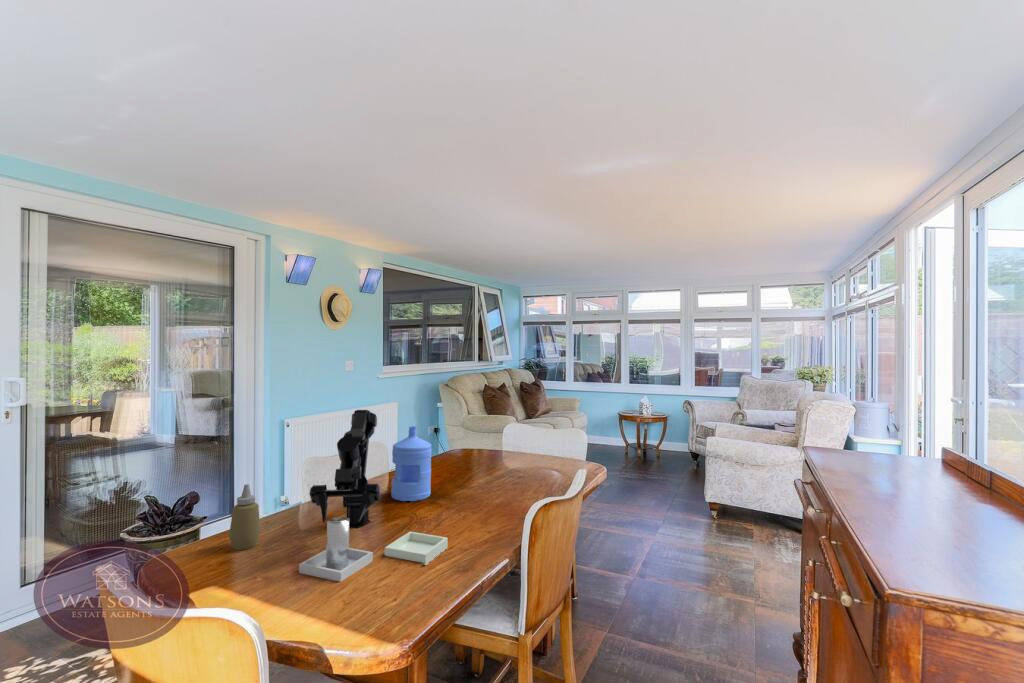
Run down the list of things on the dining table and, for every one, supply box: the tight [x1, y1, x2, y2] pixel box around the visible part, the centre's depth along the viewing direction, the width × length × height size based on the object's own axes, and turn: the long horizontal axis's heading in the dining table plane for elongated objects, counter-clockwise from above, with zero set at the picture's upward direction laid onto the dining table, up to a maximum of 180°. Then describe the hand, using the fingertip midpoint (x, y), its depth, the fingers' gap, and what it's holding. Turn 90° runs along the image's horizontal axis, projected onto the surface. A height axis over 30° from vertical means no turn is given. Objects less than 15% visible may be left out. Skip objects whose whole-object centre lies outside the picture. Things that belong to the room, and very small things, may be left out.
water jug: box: [390, 425, 433, 502], centre depth 191 cm, size 16×16×28 cm
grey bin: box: [298, 547, 374, 582], centre depth 124 cm, size 13×13×3 cm
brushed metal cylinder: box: [325, 516, 350, 570], centre depth 125 cm, size 6×6×12 cm
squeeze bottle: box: [228, 483, 261, 551], centre depth 138 cm, size 8×8×18 cm
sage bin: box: [384, 531, 449, 566], centre depth 136 cm, size 13×13×3 cm
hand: (341, 521), depth 129 cm, fingers open, 9 cm apart
